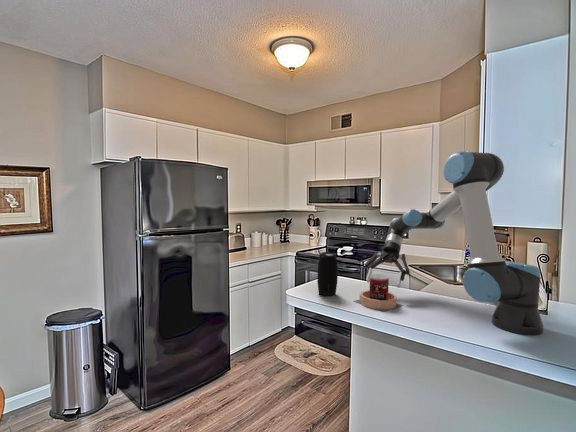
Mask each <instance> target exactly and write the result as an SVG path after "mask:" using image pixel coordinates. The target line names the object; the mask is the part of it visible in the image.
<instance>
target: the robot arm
mask: <svg viewBox="0 0 576 432" xmlns="http://www.w3.org/2000/svg"><path fill="white" fill-rule="evenodd" d="M504 171H505V166H504V162H503V160H502V159H501V158H500V156H498V155H496V154H494V153H490V152H477V151H476V152H475V151H469V150H467V151H466V150H464V151H456V152H454V153H452V154H451V155H450V156H449V157H448V158H447V159H446V162H445V164H444V166H443V172H442V173H443V177H444V179H445V180H446V182H448V183H450V184H452V188H453V190H452V191H451V192H450V193H449V194H447V196H446V197H443V199H442V200H441V201H439V202H438V203H437V204H436V205H435V206H434V207H432V208H431V209H430V210H429V211H428V212H420V211H419V210H416V209H414V208H411V209H409V210H408V211H405V212H404V213H403V214H402V215H401V216H400V217H394V218H393V219H392V220H391V222H390V223H389V227H388V232H387V236H386V239H385V242H384V246H383V247H382V248H383V249H382V251H381V252H379V251H378V250H375V252H374V254H373V255H372V256H371V257H370V258H369V259H368V260H367V261H366V262H365V263H364V269H366V272H365V274H366V278H365V281H366V283H368V284H370V276H371V275H373V269H375V268H376V267H378V266H379V265H381V264H383V263H386V264H387V263H390V264H394V265H395V266H396V267H397V268H398V270H399V274H398V278H397V282H396V286H397V288H399V289H400V287H401V282H403V281H404V280H405V276H406V275H411V271H410V269H409V266H408V263H407V261H406V260H407V259H406V254H405V253H402V254H400V253H401V247H402V244H403V241H404V237H405V234H407V233H408V232H410V231H411V230H420V229H421V230H423V229H424V230H425V229H427V230H428V229H430V230H431V229H432V230H436V229H441V228H442V227H444V225H445V223H446V219H448V218H449V217H451V216H452V215H453V214H455V212H457V211H458V210H459V209H461V212H462V216H463V224H464V227H465V228H464V229H465V233H466V239H467V244H468V250H469V253H470V254H469V255H470V260H469V261H468V262H467V264H466V265H467V270H466V271H464V274H463V276H462V285H463V288H464V290H465V292H466V293H467V294H468V296H470V297H471V298H472V299H473V300H474V301H477V302H480V303H488V302H491V303H494V302H497V301H499V302H498V305H497V306H496V307H495V309H494V311H493V314H492V315H491V316H492V317H491V322H492V325H494V326H495V327H497V328H499V329H502V330H503V331H507V332H511V333H515V334H520V335H525V336H526V335H527V336H528V335H530V336H537V335H541V334H543V333H544V323H543V320H542V317H541V314H540V310H539V299H540V288H541V287H540V285H541V278H542V277H541V269H540V268H539V267H538V266H535V265H533V264H526V263H521V262H515V261H508V260H506V259H504V258H503V257H501V256H500V254H499V249H498V248H499V247H498V244H497V239H496V238H497V237H496V234H495V230H494V225H493V218H492V214H491V210H490V205H489V200H488V194H487V191H488V190H490V189H491V188H493V187H494V186H495V185H497V184H498V182H500V180H501V178H502V177H503V175H504ZM399 259H400V260H401V261H402V263H403V267H404V268H403V267H402V264H401V263H400V262H399V261H398V260H399Z"/></svg>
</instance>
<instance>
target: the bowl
mask: <svg viewBox="0 0 576 432" xmlns="http://www.w3.org/2000/svg"><path fill="white" fill-rule="evenodd" d="M369 292H370V289H368V290H363V291H361V292H360V293H359V300H360V303H361V304H362V305H361V304H360V305H361V306H364V307H366V308H370V309H374V310H376V309H380V310H382V309H392V308H395V309H397V308H396V305H397V303H398V296H397V295H396V294H395V293H393V292H389V291H388V300H375V299H370V298H369ZM392 310H393V309H392Z"/></svg>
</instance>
